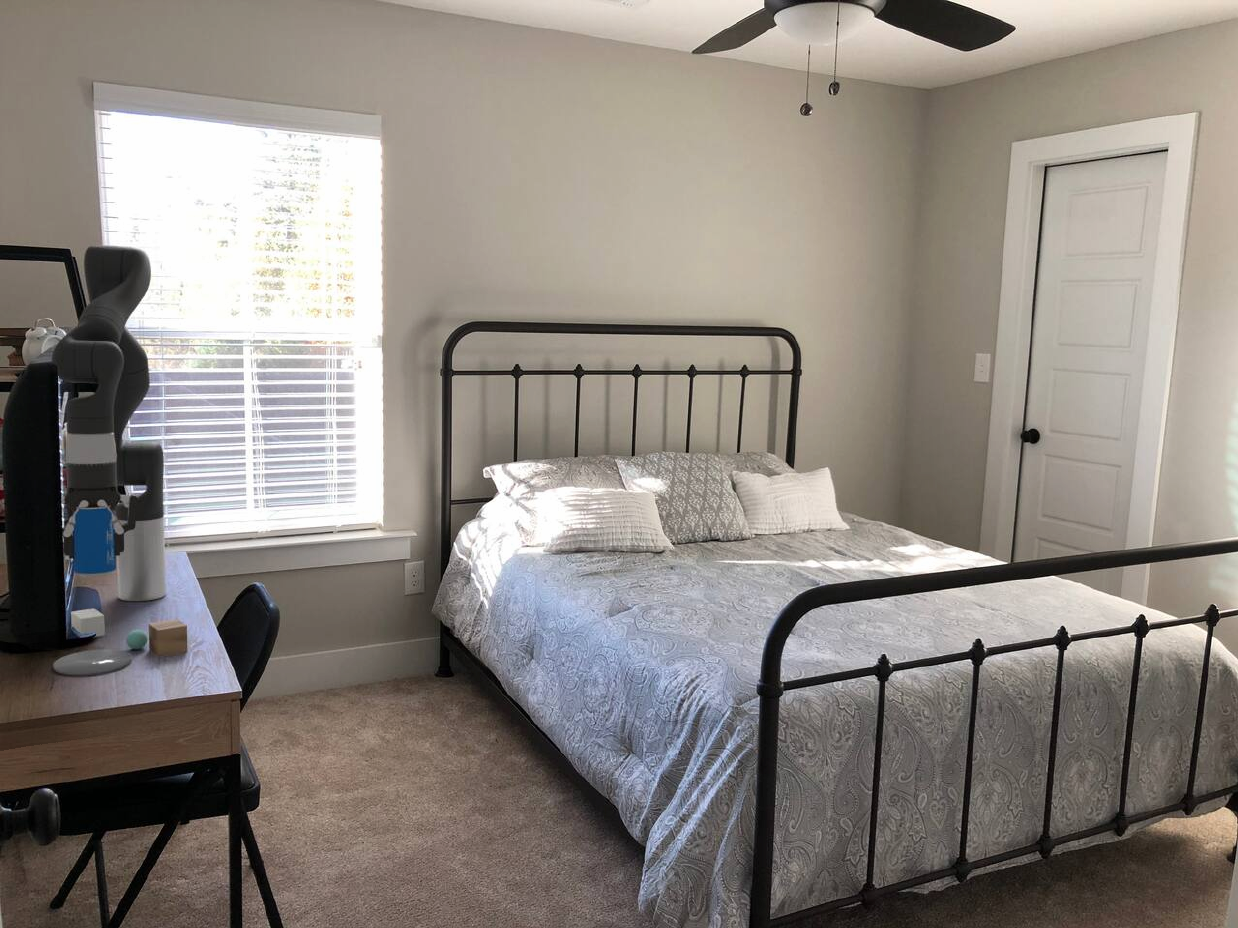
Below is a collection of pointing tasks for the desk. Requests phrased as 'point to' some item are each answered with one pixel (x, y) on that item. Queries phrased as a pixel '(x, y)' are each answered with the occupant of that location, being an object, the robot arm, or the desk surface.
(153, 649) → the walnut cube
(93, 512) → the beverage can
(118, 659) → the coaster
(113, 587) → the desk surface
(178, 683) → the desk surface
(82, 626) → the white block
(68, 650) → the desk surface
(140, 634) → the teal ball
